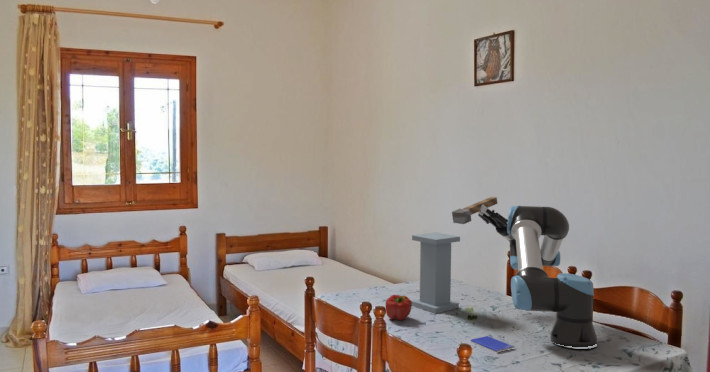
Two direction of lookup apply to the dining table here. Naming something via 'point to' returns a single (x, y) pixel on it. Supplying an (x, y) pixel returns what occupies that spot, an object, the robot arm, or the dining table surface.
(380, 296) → the dining table surface
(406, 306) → the vegetable
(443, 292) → the stand
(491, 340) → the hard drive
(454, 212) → the mallet
